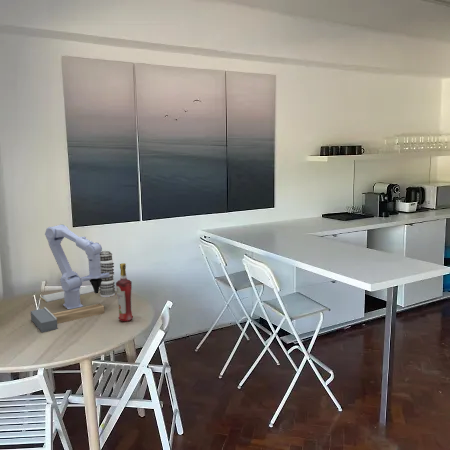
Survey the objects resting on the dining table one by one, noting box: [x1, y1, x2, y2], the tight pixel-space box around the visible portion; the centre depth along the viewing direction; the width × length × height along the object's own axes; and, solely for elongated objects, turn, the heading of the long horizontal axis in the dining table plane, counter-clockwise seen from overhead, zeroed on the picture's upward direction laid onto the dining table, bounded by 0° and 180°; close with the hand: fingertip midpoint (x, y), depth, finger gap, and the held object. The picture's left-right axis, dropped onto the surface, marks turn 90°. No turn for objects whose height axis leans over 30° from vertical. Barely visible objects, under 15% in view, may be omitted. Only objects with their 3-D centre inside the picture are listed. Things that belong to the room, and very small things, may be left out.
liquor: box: [115, 263, 134, 323], centre depth 227 cm, size 7×7×28 cm
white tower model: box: [99, 250, 116, 298], centre depth 267 cm, size 9×9×25 cm
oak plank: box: [51, 303, 105, 325], centre depth 233 cm, size 6×28×4 cm, turn 125°
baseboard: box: [39, 284, 94, 304], centre depth 271 cm, size 31×3×12 cm
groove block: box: [30, 306, 58, 333], centre depth 225 cm, size 20×7×5 cm, turn 35°
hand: (96, 292), depth 242 cm, fingers closed
